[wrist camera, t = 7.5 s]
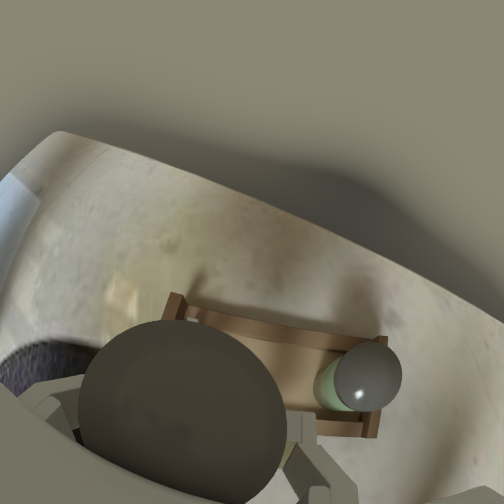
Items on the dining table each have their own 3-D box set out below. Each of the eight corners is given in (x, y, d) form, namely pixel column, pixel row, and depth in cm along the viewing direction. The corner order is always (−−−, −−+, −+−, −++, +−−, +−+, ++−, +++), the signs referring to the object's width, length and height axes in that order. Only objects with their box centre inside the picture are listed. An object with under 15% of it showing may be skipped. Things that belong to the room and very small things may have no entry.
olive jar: (307, 409, 22) (332, 409, 15) (316, 358, 25) (342, 337, 18) (358, 413, 22) (398, 411, 15) (364, 364, 24) (403, 345, 18)
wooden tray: (152, 397, 23) (137, 394, 19) (180, 307, 28) (170, 291, 24) (363, 436, 20) (381, 438, 17) (375, 344, 26) (392, 333, 22)
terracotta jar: (158, 440, 12) (62, 462, 4) (182, 358, 14) (113, 296, 7) (251, 467, 11) (258, 537, 3) (272, 381, 14) (306, 346, 6)
